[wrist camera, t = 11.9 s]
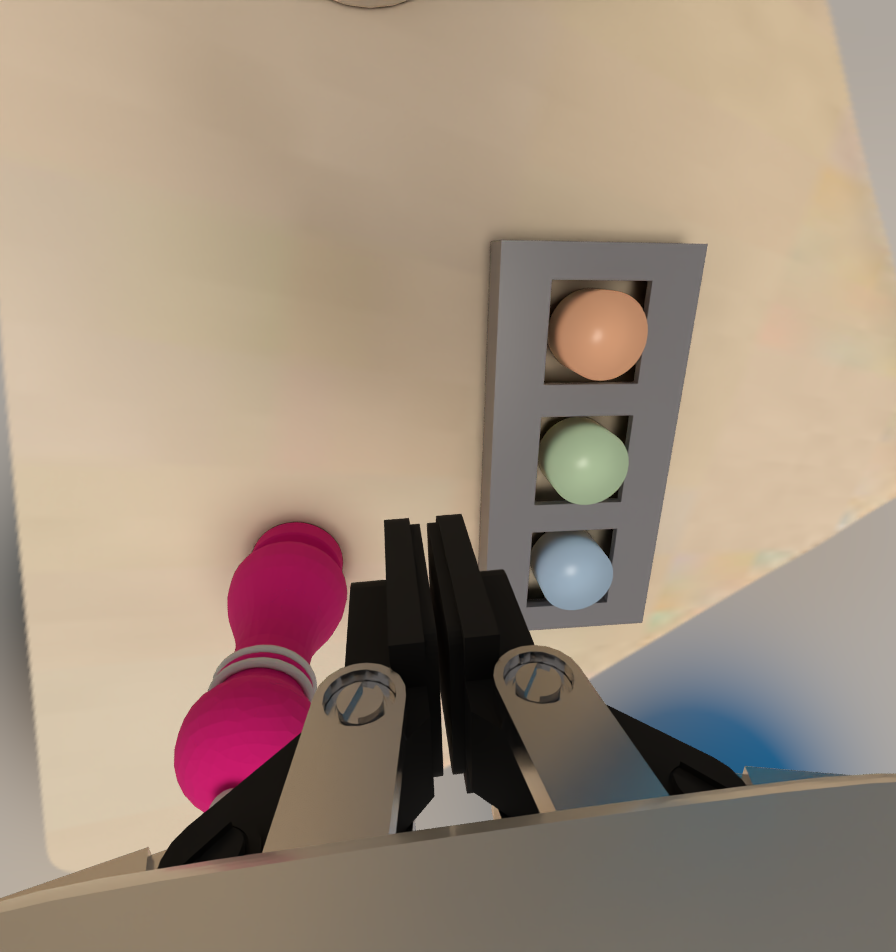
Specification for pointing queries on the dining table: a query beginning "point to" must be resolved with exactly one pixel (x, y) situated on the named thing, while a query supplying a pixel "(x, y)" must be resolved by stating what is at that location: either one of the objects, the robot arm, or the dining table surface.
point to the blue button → (571, 569)
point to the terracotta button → (598, 333)
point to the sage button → (583, 460)
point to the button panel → (581, 414)
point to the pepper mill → (263, 661)
